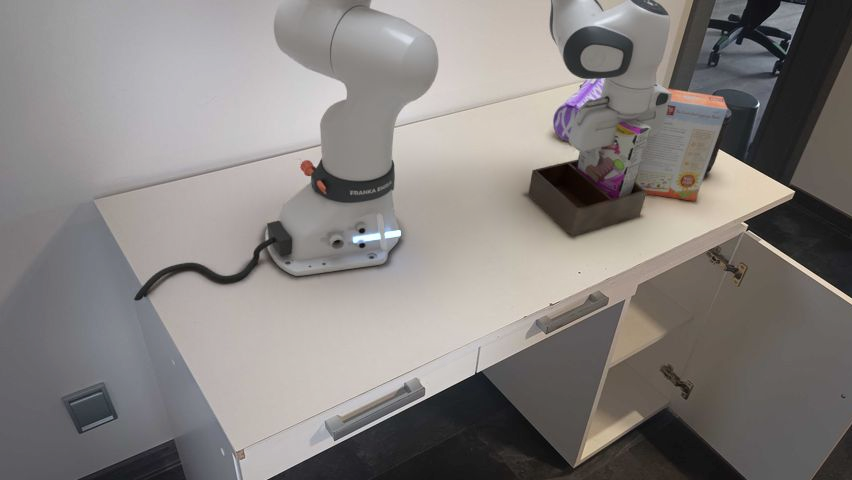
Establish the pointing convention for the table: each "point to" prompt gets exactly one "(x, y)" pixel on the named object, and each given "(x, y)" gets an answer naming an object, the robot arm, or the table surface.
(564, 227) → the divided storage box
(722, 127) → the camera lens
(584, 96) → the pencil case
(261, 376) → the table surface
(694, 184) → the cracker box
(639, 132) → the candy bar box
